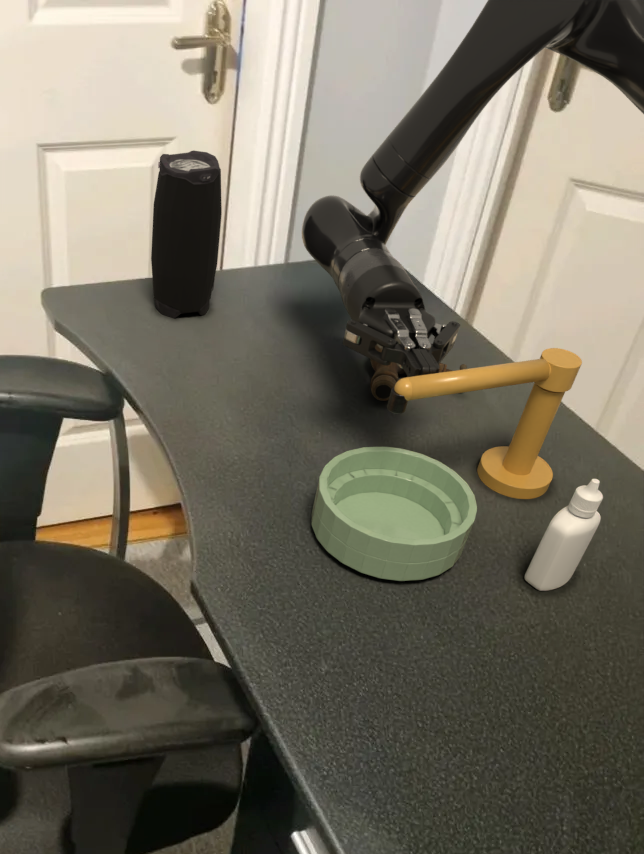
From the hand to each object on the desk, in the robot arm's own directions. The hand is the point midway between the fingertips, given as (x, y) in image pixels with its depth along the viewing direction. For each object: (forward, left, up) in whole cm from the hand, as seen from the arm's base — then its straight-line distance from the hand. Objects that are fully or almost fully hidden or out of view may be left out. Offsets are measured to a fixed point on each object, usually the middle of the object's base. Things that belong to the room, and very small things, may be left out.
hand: (427, 378), depth 84 cm
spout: (-6, 0, -2) cm, 7 cm away
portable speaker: (+17, -44, -14) cm, 49 cm away
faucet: (-10, -24, -14) cm, 29 cm away
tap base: (-15, -2, -14) cm, 20 cm away
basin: (+3, +7, -14) cm, 16 cm away
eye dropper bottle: (-11, +15, -14) cm, 23 cm away
